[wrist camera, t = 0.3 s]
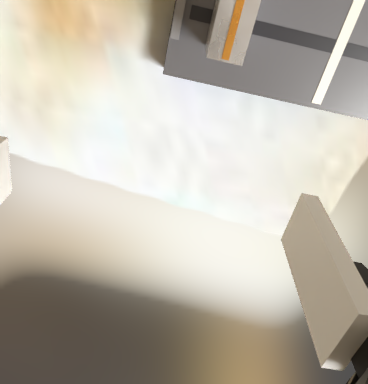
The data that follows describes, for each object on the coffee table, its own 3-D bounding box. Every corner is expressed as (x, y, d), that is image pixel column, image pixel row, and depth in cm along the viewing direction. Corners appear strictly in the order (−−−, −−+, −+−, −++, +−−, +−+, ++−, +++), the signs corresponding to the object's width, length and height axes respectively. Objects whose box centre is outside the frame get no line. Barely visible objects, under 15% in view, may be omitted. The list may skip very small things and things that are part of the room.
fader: (218, -14, 31) (222, -13, 25) (251, -6, 31) (262, -3, 26) (205, 45, 33) (206, 57, 28) (235, 52, 33) (242, 66, 28)
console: (189, -69, 31) (188, -75, 27) (418, -10, 32) (444, -8, 29) (164, 68, 37) (161, 77, 34) (358, 112, 39) (373, 125, 35)
